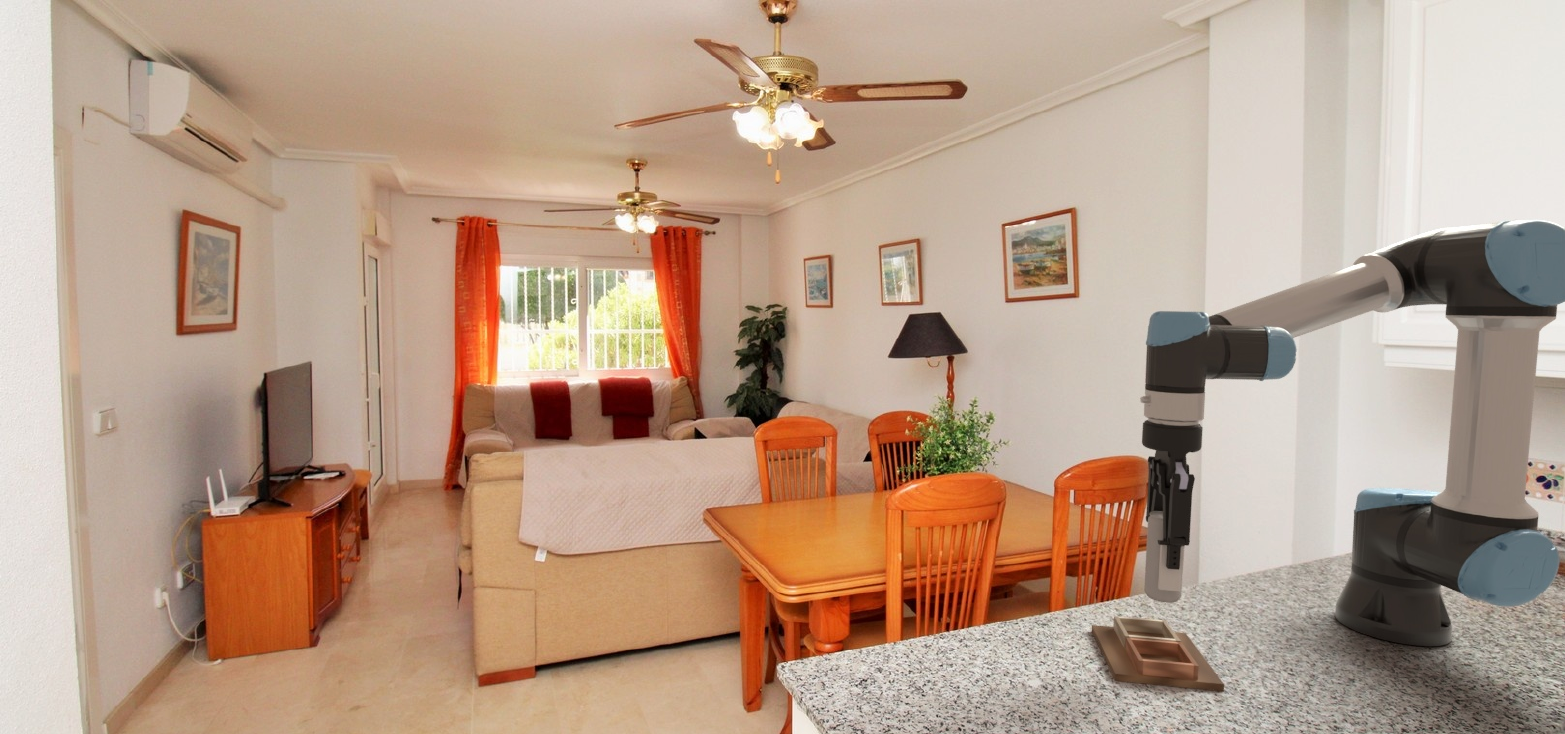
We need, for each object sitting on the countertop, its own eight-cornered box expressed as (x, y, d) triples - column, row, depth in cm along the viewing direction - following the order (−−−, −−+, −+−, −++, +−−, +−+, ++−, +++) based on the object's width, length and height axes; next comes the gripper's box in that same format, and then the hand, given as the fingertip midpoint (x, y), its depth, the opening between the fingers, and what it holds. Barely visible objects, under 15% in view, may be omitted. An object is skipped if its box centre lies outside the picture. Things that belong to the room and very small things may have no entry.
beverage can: (1175, 592, 113) (1180, 511, 112) (1185, 605, 108) (1190, 520, 107) (1140, 589, 114) (1144, 509, 113) (1148, 602, 109) (1153, 518, 108)
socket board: (1185, 639, 123) (1186, 620, 123) (1223, 691, 106) (1224, 669, 106) (1091, 631, 126) (1092, 613, 126) (1114, 680, 109) (1115, 659, 109)
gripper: (1128, 411, 119) (1121, 560, 121) (1161, 429, 101) (1152, 603, 103) (1181, 413, 117) (1173, 564, 119) (1224, 432, 100) (1213, 608, 102)
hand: (1163, 582), depth 111 cm, fingers closed on beverage can, 5 cm apart
